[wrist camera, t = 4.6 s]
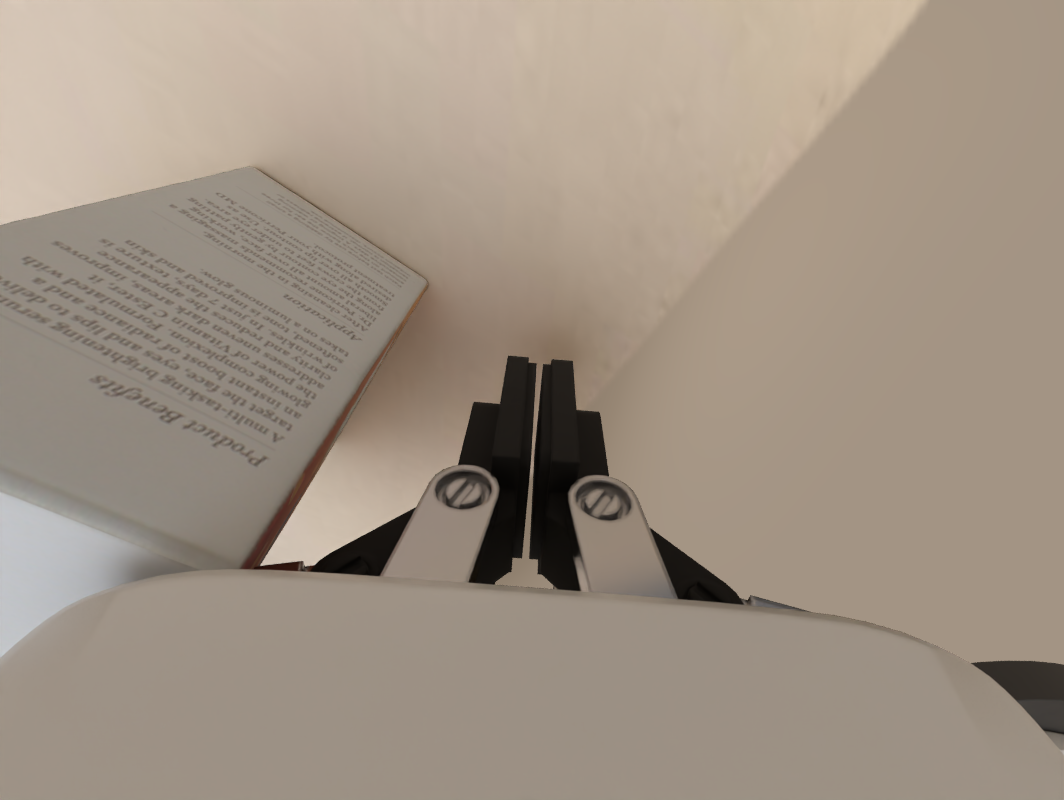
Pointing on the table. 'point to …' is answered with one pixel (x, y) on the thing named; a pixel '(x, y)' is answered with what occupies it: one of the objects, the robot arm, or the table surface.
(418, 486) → the table surface
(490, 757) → the robot arm
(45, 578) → the small box
